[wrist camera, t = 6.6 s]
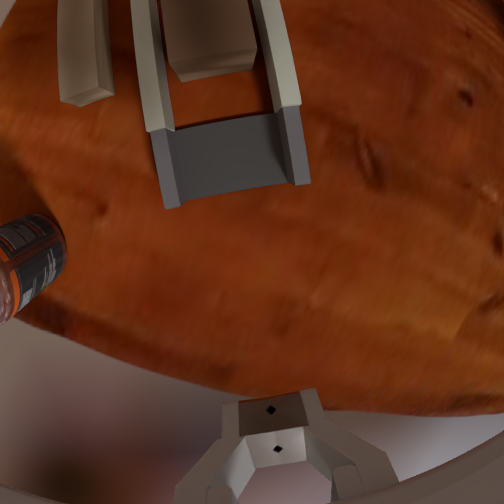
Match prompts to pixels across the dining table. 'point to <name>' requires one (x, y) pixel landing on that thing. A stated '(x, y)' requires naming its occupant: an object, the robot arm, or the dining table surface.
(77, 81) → the rod
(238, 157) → the channel
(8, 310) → the supplement bottle
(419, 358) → the dining table surface
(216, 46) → the block
